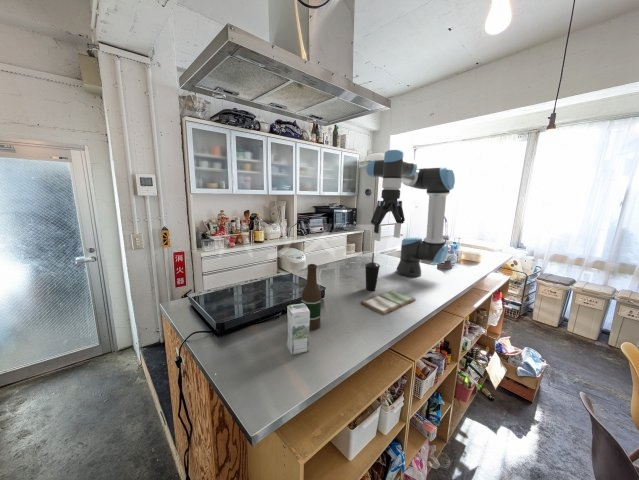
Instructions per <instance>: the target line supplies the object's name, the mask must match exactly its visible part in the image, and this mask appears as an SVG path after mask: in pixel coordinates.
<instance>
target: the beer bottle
mask: <svg viewBox="0 0 639 480" xmlns="http://www.w3.org/2000/svg"><path fill="white" fill-rule="evenodd" d="M306 269H307V275H306V285H305V286H304V287H303V290H302V293H301V297H300V298H301V299H300V301H301V302H300V304H302V303H304V304H305V305H306V306H307V308H308V309H309V311H310V323H309V331H315V330H316V331H317V330H318V329H320V328H321V316H322V315H321V313H322V311H321V310H322V307H321V306H322V291H321V289H320V287H319V285H318V283H317V269H318V266H317V264H314V263H310V264H307V267H306Z"/></svg>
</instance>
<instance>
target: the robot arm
mask: <svg viewBox="0 0 639 480" xmlns="http://www.w3.org/2000/svg"><path fill="white" fill-rule="evenodd" d="M366 174H367V175H368V177H371V178H376V177H378V178H381V179H382V185H381V188H382V190H381V196H380V197H381V199H382V200H377V203H376V208H375V210H374V213H373V215H372V218H371V220H370V224H372V225H374V226H373V233H374V235H373V241H377V242H380V241H381V234H382V225H381V223H382V222H383V220H384V218H385V217H386V215H387V213H392V216H393V218H394V221H395V223H394V227H393V228H394V230H393V238H397V239H400V237H401V236H400V235H401V228H402V224H404V223H405V221H406V218H405V213H404V210H403V201H402V200H399V199H400V198H401V190H400V189H401V188H402V187H401V186H402V184H403V185H404V186H407V187H410V188H414V189H417V190H418V189H419V190H426V194H427V195H428V207H427V208H428V211H427V222H426V223H427V224H426V237H424V238H423V239H422V238H421V237H405V238H403V239H402V240H401V245H400V246H401V247H400V259H399V262H398V264H397V267H396V271H395V273H396V274H398V275H399V276H403V277H408V278H418V277H421V276H422V268H421V265H420V261H423V262H428V263H433V264H442V263H444V261H445V260H446V259H447V256H448V252H449V245H448V244H446V240H445V239H444V225H445V224H444V223H445V212H446V203H447V201H446V200H447V196H448V195H450V192H451V190H453V189H454V188H455V181H456V180H455V179H456V177H455V173H454V170H453V169H452V168H450V167H427V168H425V167H424V168H418V165H417V162H416V161H415V160H414V159H412V158H406V157H404V151H403V150H401V149H391V150H390V149H389V150H386V151H385V152H384V157H383V159H379V160H378V159H377V160H376V159H374V160H369V162H368V163H367V165H366Z"/></svg>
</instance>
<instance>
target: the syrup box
mask: <svg viewBox="0 0 639 480" xmlns="http://www.w3.org/2000/svg"><path fill="white" fill-rule="evenodd" d="M286 311H287V313H286V314H287V315H286V316H287V317H286V318H287V320H286V322H287V324H286V327H287V328H286V346H287V348H288V350H289V352H290V354H291V356H295V355H299V354H304V353H307V352H309V349H310V348H309V346H310V344H309V343H310V330H309V323H310V311H309V309H308V308H307V306H306V305H305V304H304V303H302V304H301V303H297V304H288V305H287V310H286Z"/></svg>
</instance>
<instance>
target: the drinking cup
mask: <svg viewBox="0 0 639 480" xmlns="http://www.w3.org/2000/svg"><path fill="white" fill-rule="evenodd" d="M371 257H372V259H371V262H366V263H365V264H364V266H365V268H364V269H365V290H366V291H367V292H371V293H372V292H375V291H376V288H377V282H378V277H379V270H380V267H381V265H380V264H379V263H377V262H374V258H375V252H372V255H371Z"/></svg>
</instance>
